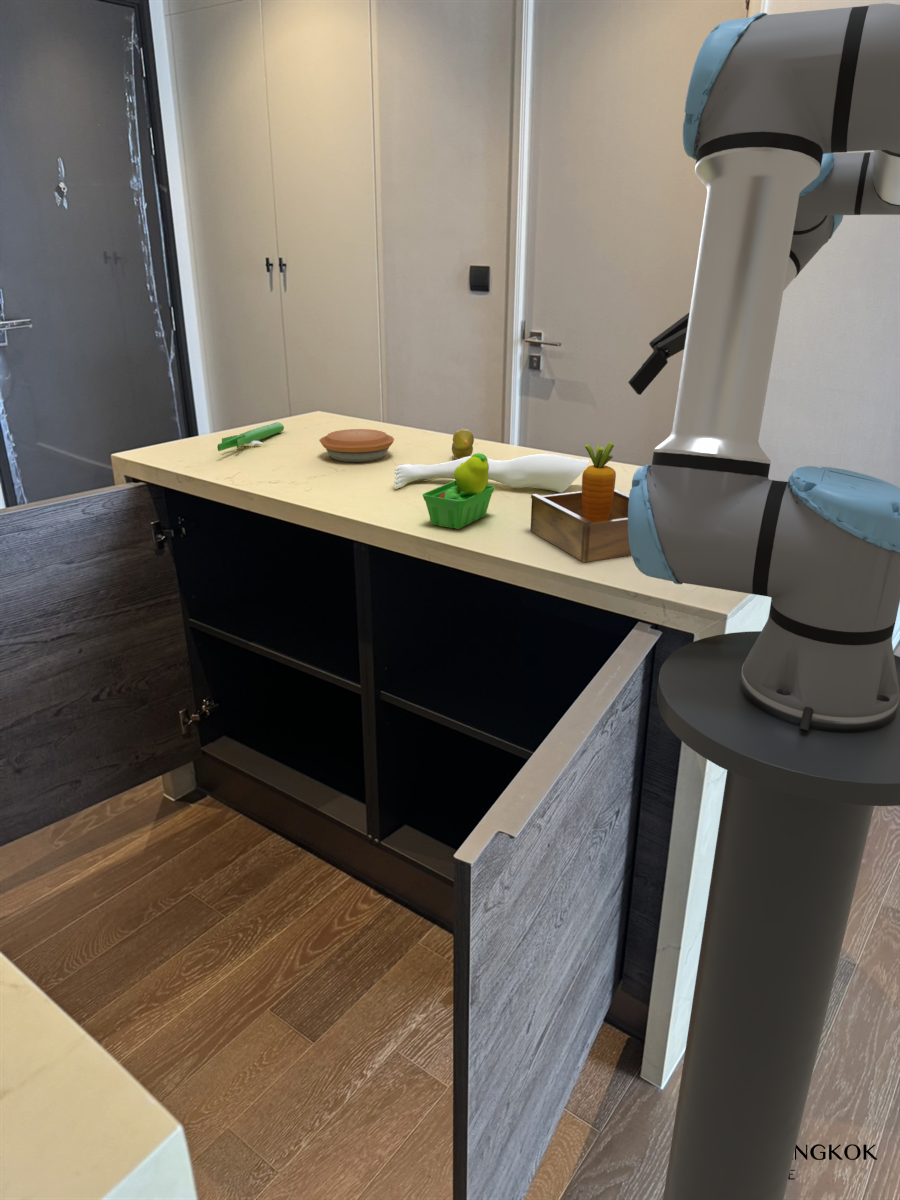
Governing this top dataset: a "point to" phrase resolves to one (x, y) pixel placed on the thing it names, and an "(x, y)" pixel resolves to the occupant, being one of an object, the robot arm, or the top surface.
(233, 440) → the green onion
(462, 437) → the bird figurine
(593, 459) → the carrot
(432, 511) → the fruit basket
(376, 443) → the pie
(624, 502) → the wooden crate
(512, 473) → the leg
